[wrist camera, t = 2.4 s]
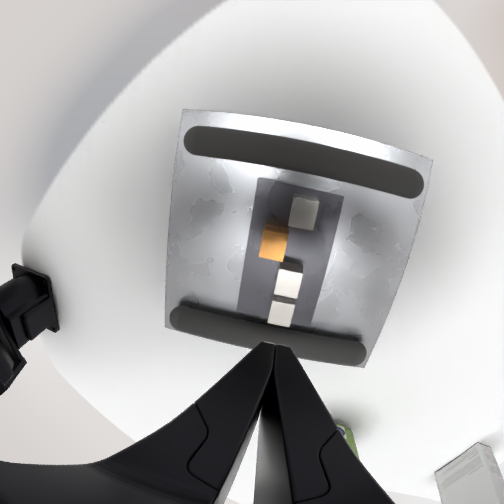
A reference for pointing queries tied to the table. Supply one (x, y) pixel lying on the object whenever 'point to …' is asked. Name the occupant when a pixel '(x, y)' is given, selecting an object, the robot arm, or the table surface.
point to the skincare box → (471, 478)
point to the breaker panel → (288, 236)
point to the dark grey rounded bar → (304, 158)
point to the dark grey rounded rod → (267, 336)
